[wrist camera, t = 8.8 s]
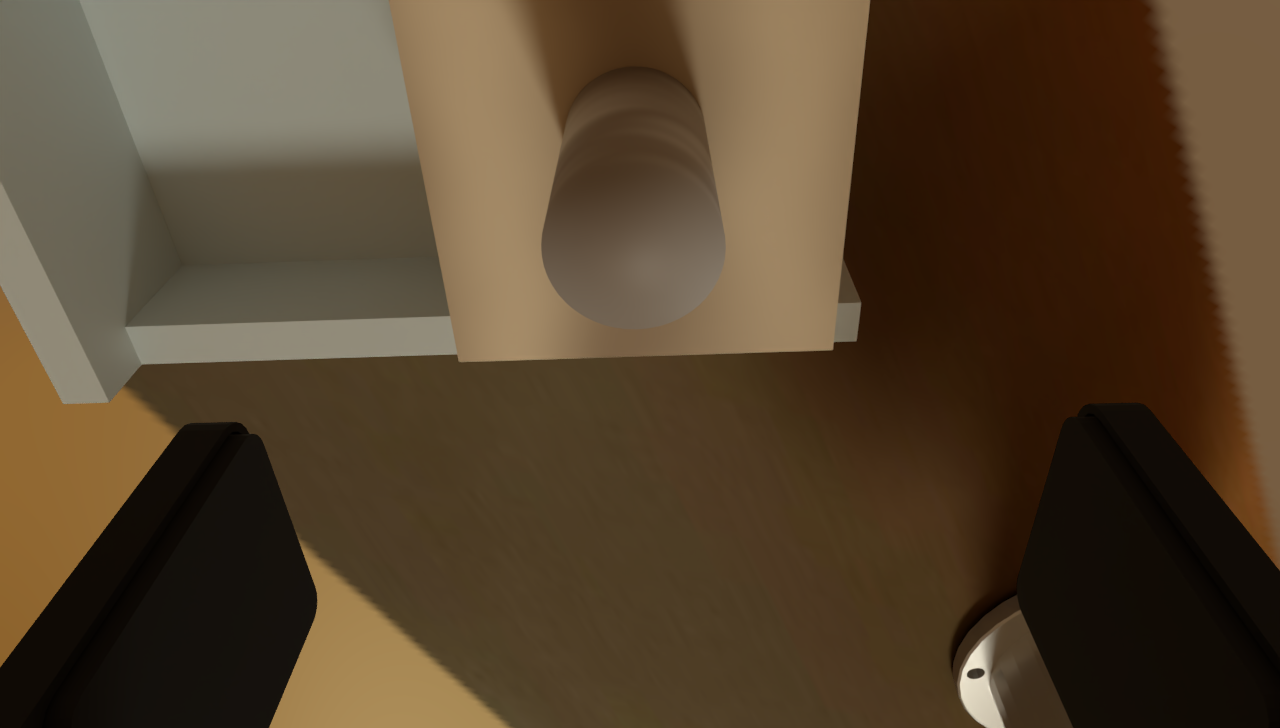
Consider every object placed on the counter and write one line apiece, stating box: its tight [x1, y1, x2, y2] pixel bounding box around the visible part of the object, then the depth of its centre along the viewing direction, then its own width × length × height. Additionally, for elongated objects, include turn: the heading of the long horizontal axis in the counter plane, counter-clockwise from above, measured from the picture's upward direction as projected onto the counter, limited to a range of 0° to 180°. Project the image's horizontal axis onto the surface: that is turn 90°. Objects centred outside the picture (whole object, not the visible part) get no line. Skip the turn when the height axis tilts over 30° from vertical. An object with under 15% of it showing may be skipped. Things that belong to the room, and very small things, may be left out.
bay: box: [0, 0, 861, 404], centre depth 24 cm, size 24×16×7 cm, turn 92°
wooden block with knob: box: [389, 0, 870, 362], centre depth 20 cm, size 10×12×13 cm
